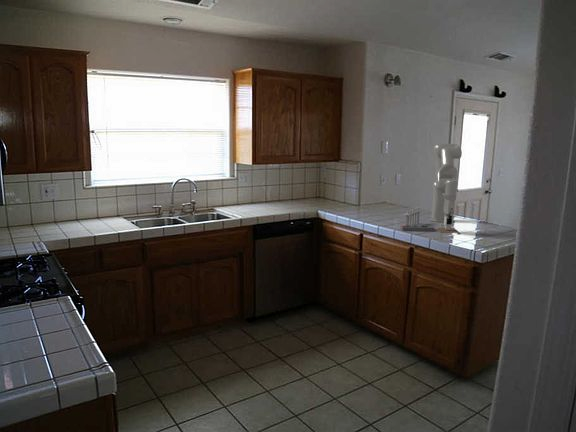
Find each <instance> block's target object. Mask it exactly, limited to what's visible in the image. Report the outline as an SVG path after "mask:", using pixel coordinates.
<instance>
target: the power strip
mask: <svg viewBox="0 0 576 432" xmlns="http://www.w3.org/2000/svg"><path fill="white" fill-rule="evenodd" d="M400 230H401V231H402V232H435V231H436V227H434V225H422V224H414V225H406V224H401V225H400Z"/></svg>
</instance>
